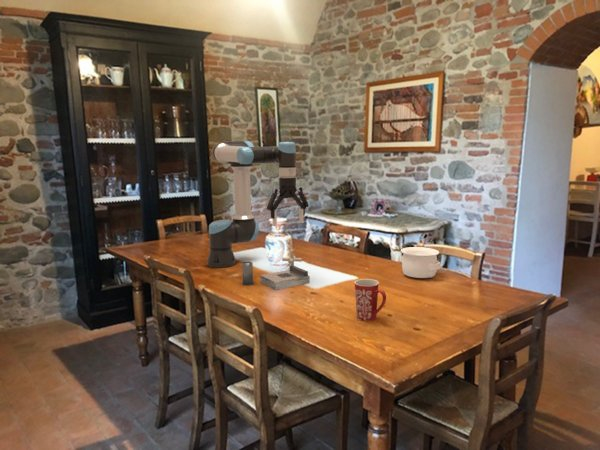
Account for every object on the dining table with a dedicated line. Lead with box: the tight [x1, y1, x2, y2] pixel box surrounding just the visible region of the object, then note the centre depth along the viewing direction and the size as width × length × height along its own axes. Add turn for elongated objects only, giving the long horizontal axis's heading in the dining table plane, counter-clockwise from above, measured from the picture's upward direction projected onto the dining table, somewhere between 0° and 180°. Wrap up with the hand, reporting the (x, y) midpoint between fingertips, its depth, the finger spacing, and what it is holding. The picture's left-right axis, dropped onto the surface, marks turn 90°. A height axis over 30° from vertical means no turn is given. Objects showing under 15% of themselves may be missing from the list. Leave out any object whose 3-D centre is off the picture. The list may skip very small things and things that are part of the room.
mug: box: [353, 278, 387, 322], centre depth 171 cm, size 13×9×14 cm
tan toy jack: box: [281, 249, 303, 267], centre depth 239 cm, size 10×10×10 cm
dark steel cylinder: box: [241, 261, 254, 286], centre depth 215 cm, size 5×5×10 cm
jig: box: [259, 265, 311, 291], centre depth 216 cm, size 14×18×6 cm
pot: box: [398, 246, 441, 279], centre depth 224 cm, size 22×17×12 cm
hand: (288, 224), depth 212 cm, fingers open, 13 cm apart
